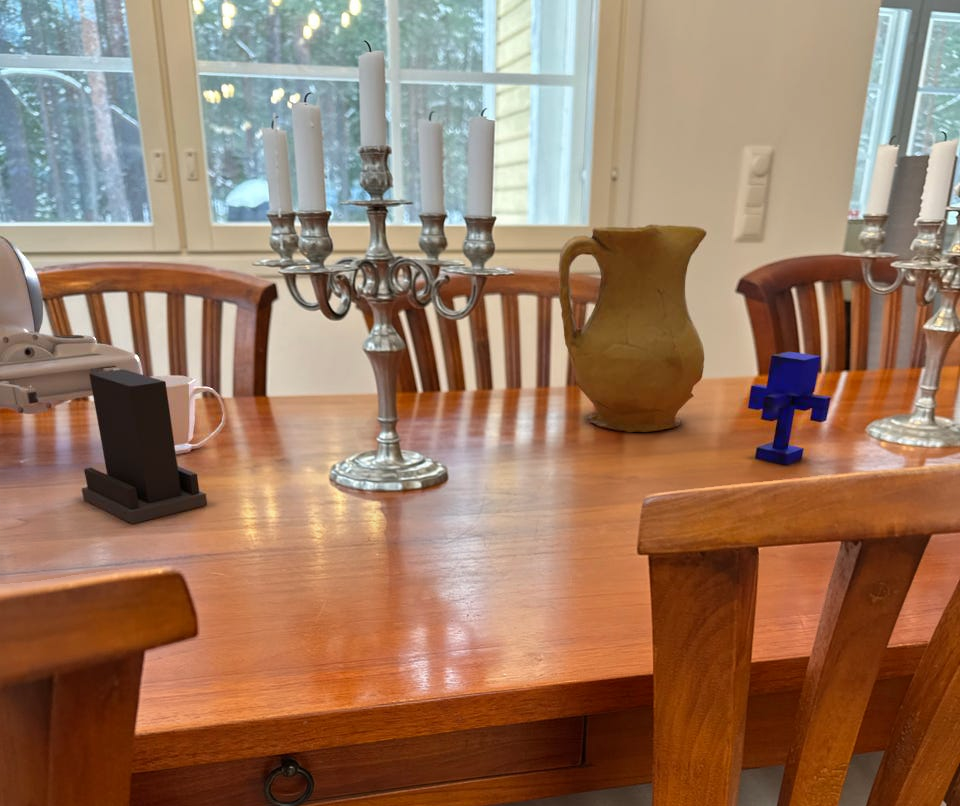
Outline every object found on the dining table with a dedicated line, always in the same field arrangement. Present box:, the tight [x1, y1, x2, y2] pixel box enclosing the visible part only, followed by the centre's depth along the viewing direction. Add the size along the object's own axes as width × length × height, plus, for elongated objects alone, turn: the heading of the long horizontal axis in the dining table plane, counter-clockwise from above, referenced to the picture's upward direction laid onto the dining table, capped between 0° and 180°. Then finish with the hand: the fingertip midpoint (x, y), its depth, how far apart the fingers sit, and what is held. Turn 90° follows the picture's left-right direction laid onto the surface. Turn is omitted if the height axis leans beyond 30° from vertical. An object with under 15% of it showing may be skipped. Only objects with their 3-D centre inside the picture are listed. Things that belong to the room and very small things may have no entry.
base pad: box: [81, 465, 208, 525], centre depth 89 cm, size 8×10×3 cm
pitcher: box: [558, 223, 707, 433], centre depth 118 cm, size 17×19×25 cm
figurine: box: [747, 351, 832, 466], centre depth 105 cm, size 8×8×12 cm
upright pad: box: [89, 369, 181, 503], centre depth 86 cm, size 4×8×11 cm, turn 47°
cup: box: [151, 374, 227, 455], centre depth 105 cm, size 7×10×8 cm
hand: (77, 391), depth 92 cm, fingers open, 8 cm apart
